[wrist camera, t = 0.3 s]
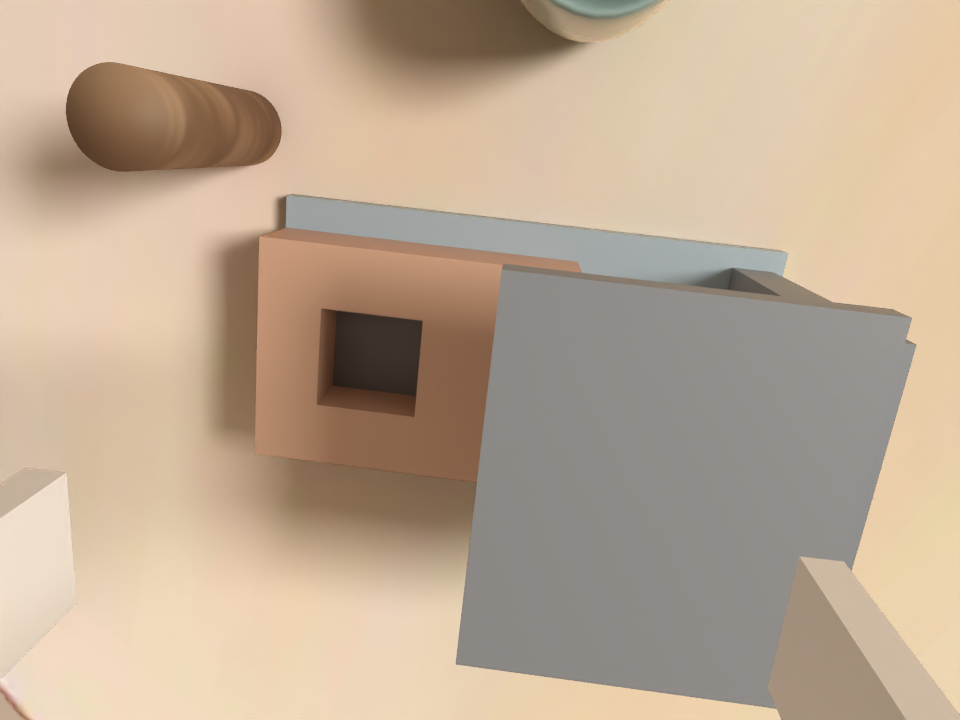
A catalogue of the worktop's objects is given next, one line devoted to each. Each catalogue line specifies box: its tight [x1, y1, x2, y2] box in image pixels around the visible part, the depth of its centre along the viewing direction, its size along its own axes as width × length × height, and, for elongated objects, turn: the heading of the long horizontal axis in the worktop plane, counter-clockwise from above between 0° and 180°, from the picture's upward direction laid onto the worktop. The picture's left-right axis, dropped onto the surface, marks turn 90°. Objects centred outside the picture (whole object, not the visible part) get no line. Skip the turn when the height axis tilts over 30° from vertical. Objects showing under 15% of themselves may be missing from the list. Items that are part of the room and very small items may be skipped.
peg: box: [66, 62, 281, 171], centre depth 31 cm, size 4×4×12 cm
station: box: [255, 194, 916, 709], centre depth 31 cm, size 14×25×16 cm, turn 84°
